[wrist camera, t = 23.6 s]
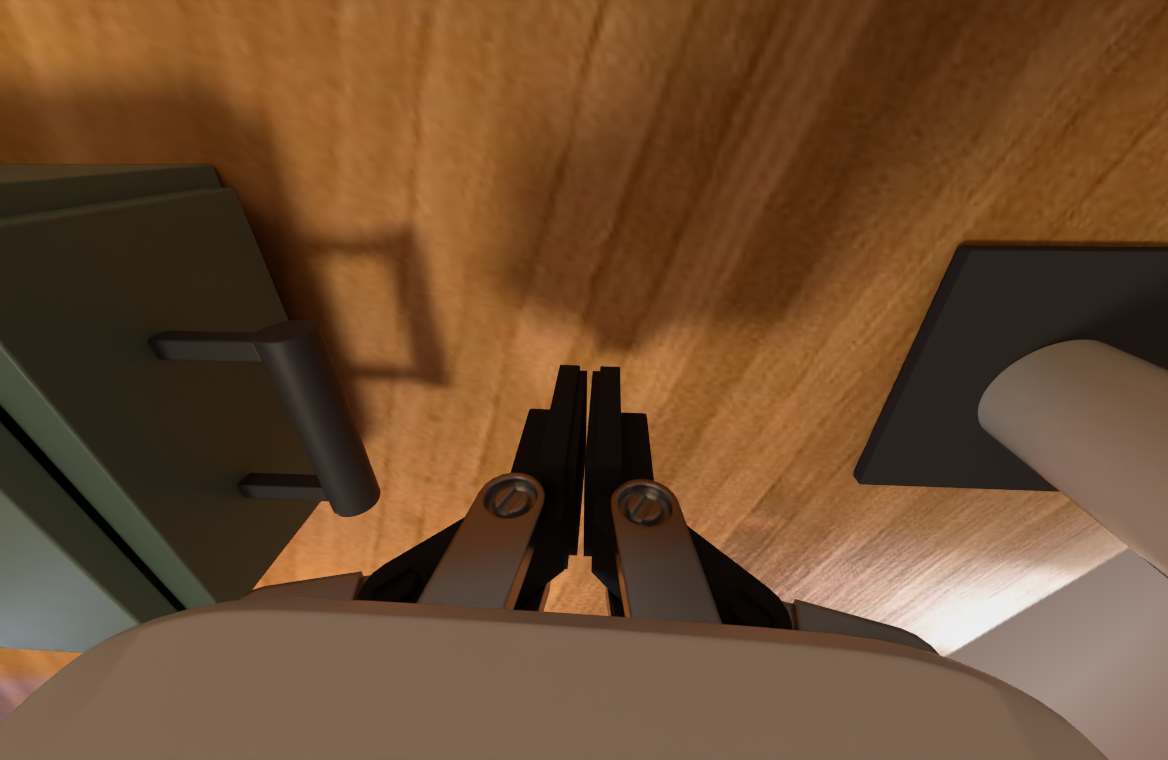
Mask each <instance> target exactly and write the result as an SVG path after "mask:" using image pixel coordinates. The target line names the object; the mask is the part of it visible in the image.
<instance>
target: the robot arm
mask: <svg viewBox="0 0 1168 760" xmlns="http://www.w3.org/2000/svg"><path fill="white" fill-rule="evenodd" d="M586 415H587V371H580V366H577V365H560V368H559V372H558V377H557V381H556V386H555V390H554V395H553V399H552V404H551V408H550V410H549V409H530V410H529V413H528V416H527V420H526V423H525V426H524V430H523V433H522V436H521V440H520V443H519V447H518V450H517V453H516V457H515V460H514V463H513V467H512V470H511V473H508V474H502V475H500V476H498V477H495V478H493V479H492V480H490V481H489V482H488V483H486V484H485V485H484V486H483V488H482V489H481V490H480V492H479V493H478V495H477V497H476V499H475V500H474V502H473V504H472V506H471V507H470V509H469V511H468V513H467V514H466V516H465V517H464V518H463V519H461V520H459V521H458V522H456V523H454V524H453V525H451V526H449V527H447V528H446V529H444V530H442V531H441V532H439V533H437V534H435V535H434V536H432V537H430V538H429V539H427V540H425V541H424V542H422V543H420V544H418V545H417V546H415V547H413V548H412V549H410V550H408V551H407V552H405V553H403V554H401V555H400V556H398V557H396V558H395V559H393V560H391V561H389V562H388V563H386V564H384V565H383V566H382V567H380V568H379V569H378V570H376V571H375V572H374V573H373V574H372V575H370V576H363V574H362V572H355V573H348V574H342V575H335V576H329V577H322V578H315V579H309V580H302V581H296V582H289V583H283V584H276V585H270V586H264V587H261V588H257V589H254V590H251V591H249V592H247V593H246V594H244V595H242V596H240V597H238V598H237V599H235V600H234V601H228V602H222V603H216V604H210V605H205V606H200V607H194V608H191V609H187V610H184V611H180V612H177V613H173V614H170V615H166V616H163V617H159V618H156V619H153V620H150V621H148V622H145V623H142V624H139V625H137V626H134V627H132V628H129V629H127V630H125V631H122V632H120V633H118V634H115V635H113V636H111V637H110V638H108V639H106V640H104V641H102V642H101V643H99V644H97V645H95V646H93V647H92V648H90V649H89V650H88V651H86V652H85V653H83V654H82V655H80V656H79V657H77V658H76V659H75V660H73V661H72V662H71V663H69V664H68V665H67V666H65V667H64V668H63V669H62V670H60V671H59V672H58V673H57V674H55V675H54V676H53V677H52V678H50V679H49V680H48V681H47V682H46V683H44V684H43V685H42V686H41V687H40V688H39V689H37V690H36V691H35V692H34V693H33V694H31V695H30V696H29V697H28V698H27V699H26V700H25V701H24V702H23V703H21V704H20V705H19V706H18V707H17V708H16V709H15V710H14V711H13V712H11V713H10V714H9V715H8V716H7V717H6V718H5V719H4V720H3V721H1V722H0V760H1108V759H1107V758H1106V756H1105V755H1104V754H1103V753H1102V752H1100V750H1098V749H1097V748H1096V747H1095V746H1094V745H1093V744H1092V743H1091V742H1090V741H1089V740H1088V739H1087V738H1086V737H1085V736H1084V735H1083V734H1082V733H1080V732H1079V731H1078V730H1077V729H1076V728H1075V727H1074V726H1072V725H1071V724H1070V723H1069V722H1068V721H1067V720H1065V719H1064V718H1063V717H1062V716H1060V715H1059V714H1057V713H1056V712H1054V711H1053V710H1052V709H1050V708H1048V707H1047V706H1045V705H1044V704H1043V703H1042V702H1040V701H1039V700H1037V699H1035V698H1033V697H1031V696H1030V695H1028V694H1026V693H1025V692H1023V691H1021V690H1019V689H1018V688H1016V687H1014V686H1012V685H1010V684H1008V683H1006V682H1004V681H1002V680H1000V679H998V678H996V677H994V676H991V675H989V674H986V673H984V672H981V671H979V670H977V669H974V668H972V667H970V666H967V665H965V664H962V663H960V662H957V661H955V660H952V659H949V658H946V657H943V656H940V655H939V654H938V653H937V652H936V651H935V649H934V648H933V647H932V646H931V645H929V644H928V643H926V642H925V641H924V640H922V639H921V638H919V637H918V636H917V635H915V634H912V633H910V632H908V631H905V630H903V629H901V628H898V627H894V626H890V625H887V624H883V623H879V622H876V621H872V620H869V619H865V618H861V617H858V616H854V615H851V614H847V613H843V612H840V611H836V610H833V609H829V608H825V607H822V606H818V605H814V604H811V603H807V602H804V601H800V600H796V599H795V600H794V602H793V604H791V603H787V602H784V601H781V600H780V598H779V597H778V596H777V595H776V594H775V593H773V592H772V591H771V590H770V589H769V588H768V587H767V586H765V585H764V584H763V583H761V582H760V581H759V580H758V579H756V578H755V577H754V576H752V575H751V574H750V573H748V572H747V571H746V570H744V569H743V568H742V567H741V566H739V565H738V564H737V563H735V562H734V561H733V560H731V559H730V558H729V557H727V556H726V555H725V554H724V553H722V552H721V551H720V550H718V549H717V548H716V547H714V546H713V545H712V544H710V543H709V542H708V541H706V540H705V539H704V538H703V537H701V536H700V535H699V534H697V533H696V532H695V531H693V530H692V529H691V528H689V527H688V526H687V524H686V522H685V519H684V516H683V513H682V510H681V508H680V505H679V502H678V500H677V498H676V497H675V495H674V494H673V493H672V492H671V491H670V490H669V489H668V488H667V487H666V486H664V485H662V484H660V483H658V482H655V481H654V478H653V469H652V460H651V451H650V442H649V433H648V424H647V416H646V414H643V413H621V397H620V367H604V366H601V369H600V371H593V375H592V387H591V398H590V410H589V422H588V433H587V445H586ZM584 468H585V481H584V556H592V573H593V574H594V575H595V576H596V577H597V578H598V579H599V580H600V581H601V582H602V583H603V584H604V585H605V586H606V602H607V609H608V616H599V615H584V614H569V613H554V612H543V611H544V608H545V604H546V601H547V598H548V594H549V590H550V583H551V582H550V581H551V580H552V579H553V578H555V577H556V576H557V575H558V574H560V573H561V572H562V571H564V569H567V567H568V558H569V555H577V550H578V538H579V526H580V515H581V503H582V492H583V480H584Z"/></svg>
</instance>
